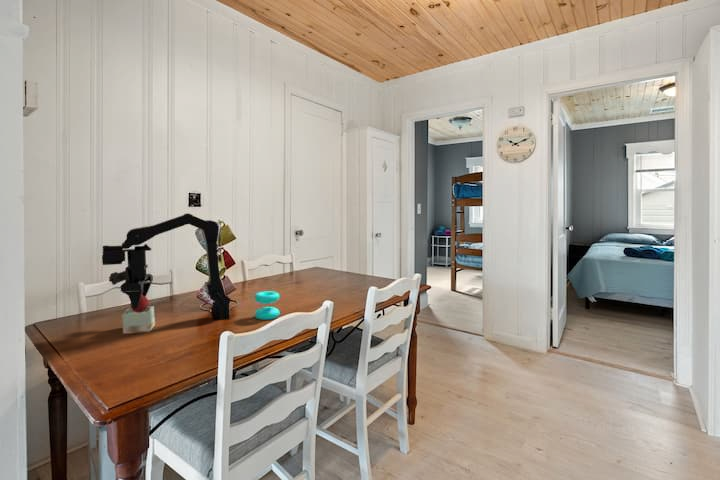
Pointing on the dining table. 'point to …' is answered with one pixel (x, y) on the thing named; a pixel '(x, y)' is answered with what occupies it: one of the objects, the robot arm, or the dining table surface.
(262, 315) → the donuts
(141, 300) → the onion
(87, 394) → the dining table surface
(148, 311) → the pale green open box
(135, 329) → the base block
